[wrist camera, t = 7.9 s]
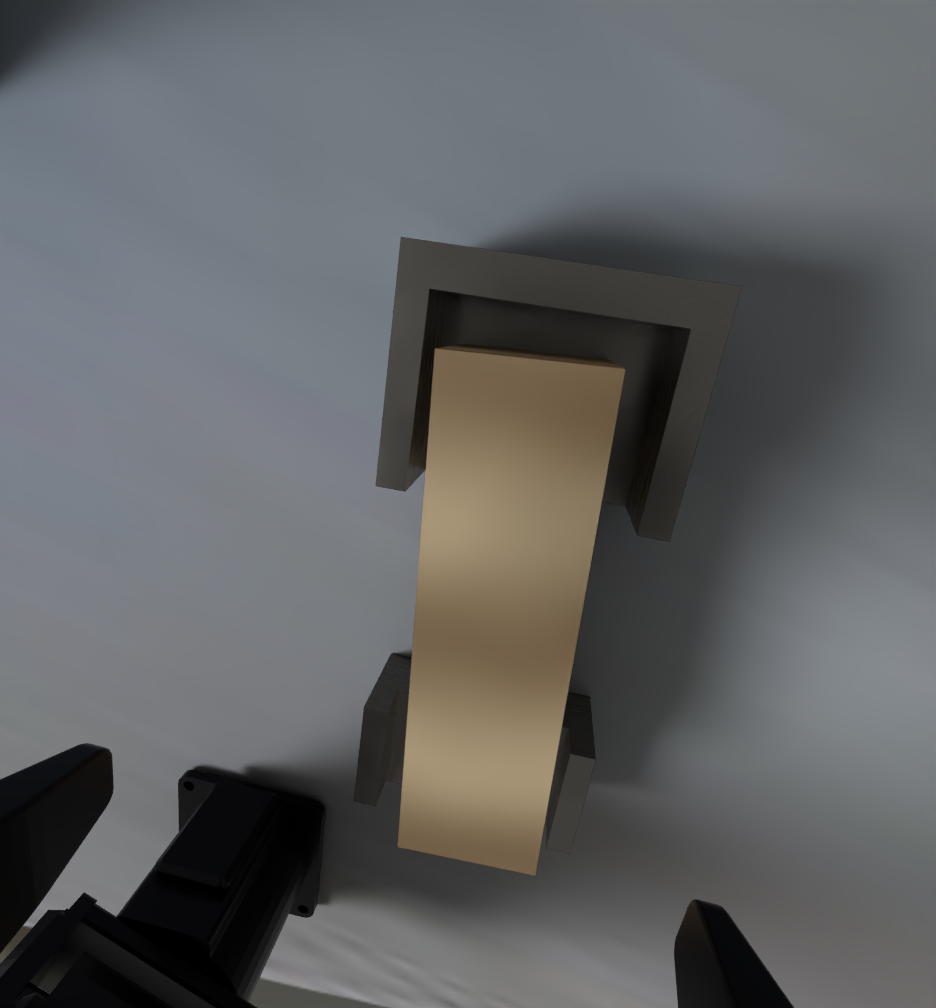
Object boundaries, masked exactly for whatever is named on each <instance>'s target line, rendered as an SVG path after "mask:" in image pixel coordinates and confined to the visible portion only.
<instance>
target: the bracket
mask: <svg viewBox="0 0 936 1008" xmlns="http://www.w3.org/2000/svg"><path fill="white" fill-rule="evenodd" d="M741 288H742V287H741V286H734V285H728V284H721V283H714V282H707V281H700V280H693V279H686V278H680V277H673V276H666V275H659V274H652V273H645V272H638V271H632V270H625V269H618V268H611V267H604V266H597V265H590V264H583V263H577V262H570V261H563V260H556V259H549V258H542V257H535V256H529V255H522V254H515V253H508V252H501V251H494V250H487V249H481V248H474V247H467V246H460V245H453V244H446V243H439V242H432V241H426V240H419V239H412V238H405V237H401V241H400V251H399V261H398V271H397V280H396V290H395V300H394V310H393V320H392V330H391V340H390V349H389V359H388V369H387V379H386V389H385V399H384V408H383V418H382V428H381V438H380V448H379V458H378V468H377V477H376V486H378V487H384V488H389V489H394V490H399V491H406V490H407V489H408V488H409V487H410V486H411V485H412V484H413V483H414V482H415V480H416V479H417V478H418V477H419V476H420V475H421V474H422V473H423V472H424V471H425V470H426V460H427V447H428V434H429V420H430V407H431V394H432V380H433V367H434V354H435V348H442V347H448V346H454V345H460V344H470V345H479V346H489V347H498V348H508V349H517V350H526V351H536V352H545V353H555V354H564V355H574V356H583V357H593V358H602V359H609V360H611V361H612V362H614V363H616V364H618V365H619V366H621V367H623V368H625V374H624V380H623V385H622V391H621V397H620V402H619V408H618V413H617V419H616V425H615V430H614V436H613V442H612V447H611V453H610V458H609V464H608V470H607V475H606V481H605V486H604V492H603V498H602V502H607V503H612V504H617V505H623V506H626V509H627V511H628V514H629V516H630V519H631V521H632V524H633V526H634V529H635V531H636V534H637V536H642V537H647V538H652V539H658V540H663V541H668V542H670V538H671V535H672V531H673V528H674V524H675V520H676V517H677V513H678V510H679V506H680V503H681V499H682V496H683V492H684V489H685V485H686V482H687V478H688V475H689V471H690V468H691V464H692V461H693V457H694V453H695V450H696V446H697V443H698V439H699V436H700V432H701V429H702V425H703V422H704V418H705V415H706V411H707V408H708V404H709V401H710V397H711V393H712V390H713V386H714V383H715V379H716V376H717V372H718V369H719V365H720V362H721V358H722V355H723V351H724V348H725V344H726V341H727V337H728V333H729V330H730V326H731V323H732V319H733V316H734V312H735V309H736V305H737V302H738V298H739V295H740V291H741Z"/></svg>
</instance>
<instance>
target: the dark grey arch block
mask: <svg viewBox="0 0 936 1008" xmlns="http://www.w3.org/2000/svg"><path fill="white" fill-rule="evenodd" d="M411 660H412V658H408V657H404V656H399V655H395V654H391V655H390V657H389V659H388V661H387V663H386V665H385V667H384V669H383V671H382V673H381V674H380V676H379V678H378V680H377V682H376V684H375V686H374V688H373V690H372V692H371V694H370V696H369V698H368V700H367V702H366V704H365V706H364V712H363V722H362V731H361V740H360V749H359V758H358V768H357V777H356V786H355V795H354V801H356V802H360V803H364V804H368V805H372V806H376V805H377V802H378V799H379V797H380V794H381V791H382V789H383V786H384V783H385V781H390V782H394V783H399V784H402V781H403V767H404V754H405V741H406V727H407V714H408V701H409V687H410V674H411ZM595 760H596V758H595V747H594V736H593V725H592V714H591V703H590V697H587V696H582V695H578V694H573V693H569V692H568V694H567V700H566V706H565V711H564V717H563V723H562V728H561V734H560V739H559V745H558V751H557V756H556V762H555V768H554V773H553V779H552V784H551V790H550V796H549V801H548V807H547V813H546V818H545V819H547V837H546V848H547V849H551V850H555V851H560V852H564V853H568V854H570V851H571V848H572V844H573V840H574V837H575V833H576V830H577V826H578V822H579V819H580V815H581V811H582V808H583V804H584V800H585V797H586V793H587V790H588V786H589V782H590V779H591V775H592V771H593V768H594V764H595Z"/></svg>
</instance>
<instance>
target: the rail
mask: <svg viewBox="0 0 936 1008" xmlns="http://www.w3.org/2000/svg"><path fill="white" fill-rule="evenodd" d="M624 374H625V368H623V367H621V366H619V365H618V364H616V363H614V362H612V361H611V360H609V359H602V358H593V357H583V356H574V355H564V354H555V353H545V352H536V351H526V350H517V349H508V348H498V347H489V346H479V345H470V344H460V345H454V346H448V347H442V348H435V354H434V367H433V380H432V394H431V407H430V420H429V434H428V447H427V460H426V474H425V487H424V500H423V514H422V527H421V540H420V554H419V567H418V580H417V594H416V607H415V620H414V634H413V647H412V660H411V674H410V687H409V701H408V714H407V727H406V741H405V754H404V767H403V781H402V794H401V807H400V821H399V834H398V847H400V848H405V849H410V850H415V851H420V852H424V853H429V854H434V855H439V856H443V857H448V858H453V859H458V860H463V861H467V862H472V863H477V864H482V865H486V866H491V867H496V868H501V869H506V870H510V871H515V872H520V873H525V874H529V875H534V876H535V874H536V869H537V863H538V858H539V852H540V846H541V841H542V835H543V829H544V824H545V818H546V813H547V807H548V801H549V796H550V790H551V784H552V779H553V773H554V768H555V762H556V756H557V751H558V745H559V739H560V734H561V728H562V723H563V717H564V711H565V706H566V700H567V694H568V689H569V683H570V678H571V672H572V666H573V661H574V655H575V650H576V644H577V638H578V633H579V627H580V621H581V616H582V610H583V605H584V599H585V593H586V588H587V582H588V576H589V571H590V565H591V560H592V554H593V548H594V543H595V537H596V531H597V526H598V520H599V515H600V509H601V503H602V498H603V492H604V486H605V481H606V475H607V470H608V464H609V458H610V453H611V447H612V442H613V436H614V430H615V425H616V419H617V413H618V408H619V402H620V397H621V391H622V385H623V380H624Z"/></svg>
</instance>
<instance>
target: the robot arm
mask: <svg viewBox="0 0 936 1008" xmlns="http://www.w3.org/2000/svg"><path fill="white" fill-rule="evenodd" d="M113 787H114V786H113V765H112V753H111V752H110V750H109V749H107V748H105V747H101V746H97V745H93V744H88V743H85V744H80V745H77V746H75V747H73V748H70V749H68V750H66V751H64V752H61V753H59V754H57V755H55V756H52V757H50V758H48V759H46V760H43V761H41V762H39V763H36V764H34V765H32V766H30V767H27V768H25V769H23V770H21V771H18V772H16V773H14V774H12V775H9V776H7V777H5V778H2V779H0V953H1V952H2V951H3V950H4V948H5V947H6V946H7V944H8V943H9V942H10V941H11V940H12V938H13V937H14V936H15V935H16V933H17V932H18V931H19V930H20V928H21V927H22V926H23V925H24V924H25V922H26V921H27V920H28V918H29V917H30V916H31V915H32V913H33V912H34V911H35V909H36V908H37V907H38V905H39V904H40V903H41V901H42V900H43V899H44V897H45V896H46V894H47V893H48V892H49V890H50V889H51V887H52V886H53V884H54V883H55V881H56V880H57V878H58V877H59V876H60V874H61V873H62V871H63V870H64V868H65V867H66V865H67V864H68V862H69V861H70V859H71V858H72V857H73V855H74V854H75V852H76V851H77V849H78V848H79V846H80V845H81V843H82V842H83V840H84V839H85V838H86V836H87V835H88V833H89V832H90V830H91V829H92V827H93V826H94V824H95V823H96V821H97V820H98V819H99V817H100V816H101V814H102V813H103V811H104V810H105V808H106V807H107V805H108V803H109V801H110V799H111V797H112V793H113ZM178 798H179V833H178V834H177V835H176V837H175V838H174V839H173V841H172V842H171V843H170V845H169V846H168V847H167V849H166V850H165V851H164V853H163V854H162V855H161V857H160V858H159V859H158V861H157V862H156V864H155V866H154V867H153V868H152V870H151V871H150V872H149V874H148V875H147V876H146V878H145V879H144V880H143V882H142V883H141V884H140V886H139V887H138V888H137V890H136V891H135V892H134V894H133V895H132V896H131V898H130V899H129V900H128V902H127V903H126V904H125V906H124V907H123V909H122V910H121V911H120V913H119V914H118V915H117V917H116V916H114V915H112V914H111V913H109V912H108V911H106V910H105V909H103V908H102V907H100V906H98V905H97V904H95V903H96V902H97V900H96V899H94V898H93V897H91V896H89V895H88V894H86V893H85V892H84V893H83V894H82V895H81V896H80V897H79V899H78V900H77V901H76V902H75V903H74V904H73V905H72V906H71V908H70V909H66V910H48V911H47V912H46V913H45V914H44V916H43V917H42V918H41V919H40V920H39V921H38V922H37V924H36V925H35V926H34V927H33V928H32V929H31V931H30V932H29V933H28V934H27V935H26V936H25V937H24V938H23V940H22V941H21V942H20V943H19V944H18V945H17V946H16V947H15V949H14V950H13V951H12V952H11V953H10V954H9V955H8V956H7V957H6V958H5V960H4V961H3V962H2V963H1V964H0V1008H257V1007H255V1006H253V1005H252V1004H251V1003H249V1000H250V998H251V995H252V993H253V991H254V989H255V987H256V984H257V982H258V980H259V978H260V976H261V973H262V971H263V969H264V967H265V965H266V963H267V960H268V958H269V956H270V954H271V952H272V949H273V947H274V945H275V943H276V941H277V938H278V936H279V934H280V932H281V930H282V927H283V925H284V923H285V921H286V919H287V917H288V914H293V915H296V916H300V917H305V918H307V917H311V916H312V915H313V913H314V911H315V908H316V906H317V901H318V890H319V879H320V868H321V856H322V845H323V834H324V823H325V807H324V806H323V804H322V803H320V802H319V801H317V800H314V799H310V798H306V797H302V796H298V795H294V794H290V793H286V792H282V791H278V790H273V789H269V788H265V787H261V786H257V785H253V784H249V783H245V782H241V781H237V780H233V779H229V778H225V777H221V776H217V775H213V774H209V773H205V772H201V771H197V770H188V771H186V772H185V773H184V775H183V776H182V777H181V778H180V779H179V782H178ZM312 812H313V813H312ZM674 960H675V973H676V986H677V999H678V1008H794V1007H793V1005H792V1004H791V1003H790V1001H789V1000H788V998H787V997H786V995H785V994H784V993H783V991H782V990H781V988H780V987H779V985H778V984H777V983H776V981H775V980H774V978H773V977H772V975H771V974H770V973H769V971H768V970H767V968H766V967H765V965H764V964H763V963H762V961H761V960H760V958H759V957H758V955H757V954H756V953H755V951H754V950H753V948H752V947H751V945H750V944H749V943H748V941H747V940H746V938H745V937H744V935H743V934H742V933H741V931H740V930H739V928H738V927H737V925H736V924H735V923H734V921H733V920H732V918H731V917H730V915H729V914H728V913H727V911H726V910H725V909H724V908H723V907H721V906H719V905H717V904H713V903H709V902H705V901H701V900H693V901H691V902H690V904H689V906H688V908H687V911H686V913H685V916H684V918H683V921H682V923H681V926H680V928H679V931H678V934H677V936H676V940H675V947H674ZM39 987H40V988H41V989H40V988H39ZM42 989H43V990H44V991H43V990H42ZM45 991H46V992H45ZM47 992H48V993H49V994H48V993H47Z"/></svg>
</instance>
